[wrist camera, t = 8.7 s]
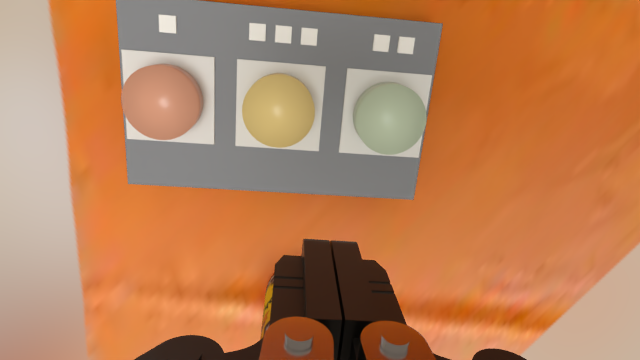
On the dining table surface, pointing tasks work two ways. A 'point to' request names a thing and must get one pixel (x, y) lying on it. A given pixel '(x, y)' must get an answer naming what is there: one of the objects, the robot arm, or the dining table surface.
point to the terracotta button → (162, 101)
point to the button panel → (263, 59)
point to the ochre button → (278, 110)
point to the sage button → (389, 118)
